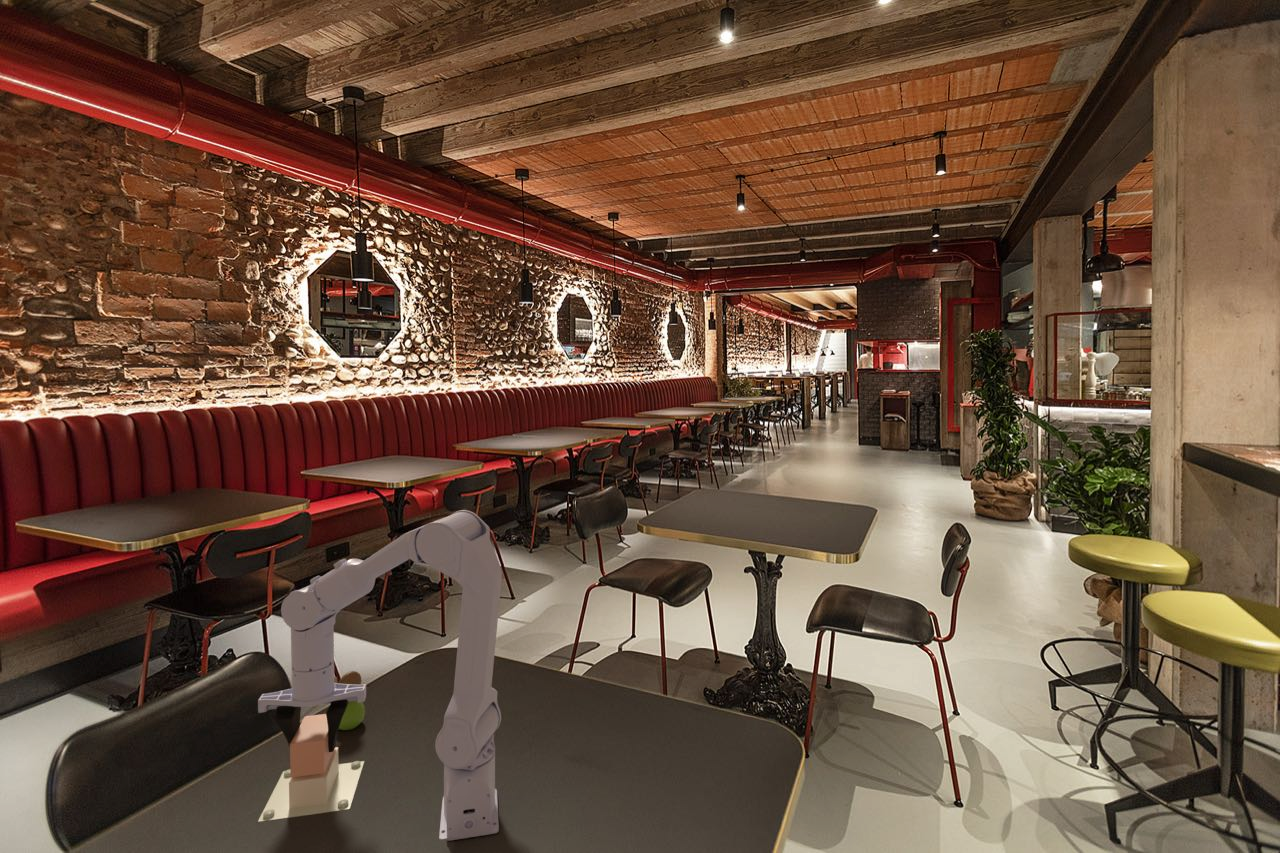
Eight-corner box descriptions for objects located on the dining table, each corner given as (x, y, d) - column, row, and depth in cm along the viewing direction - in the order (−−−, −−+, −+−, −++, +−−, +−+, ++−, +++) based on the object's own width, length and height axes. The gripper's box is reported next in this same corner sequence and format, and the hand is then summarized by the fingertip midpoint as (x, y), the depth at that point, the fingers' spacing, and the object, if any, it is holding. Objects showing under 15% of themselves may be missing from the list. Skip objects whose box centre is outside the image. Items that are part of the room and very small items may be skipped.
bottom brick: (326, 803, 92) (326, 777, 92) (289, 808, 91) (288, 782, 91) (338, 771, 100) (338, 747, 100) (304, 775, 99) (303, 751, 98)
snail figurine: (320, 734, 111) (319, 668, 111) (352, 717, 117) (351, 655, 116) (340, 742, 109) (339, 675, 108) (371, 725, 115) (370, 661, 114)
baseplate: (349, 812, 91) (349, 806, 91) (257, 825, 88) (257, 819, 88) (364, 764, 103) (364, 758, 103) (283, 774, 100) (283, 768, 100)
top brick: (324, 773, 92) (323, 740, 92) (290, 777, 91) (289, 744, 90) (336, 743, 100) (336, 712, 99) (305, 746, 98) (304, 716, 98)
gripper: (369, 648, 100) (370, 730, 101) (268, 656, 96) (270, 742, 97) (361, 667, 93) (362, 755, 94) (252, 677, 89) (254, 768, 90)
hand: (314, 750), depth 95 cm, fingers closed on top brick, 4 cm apart
